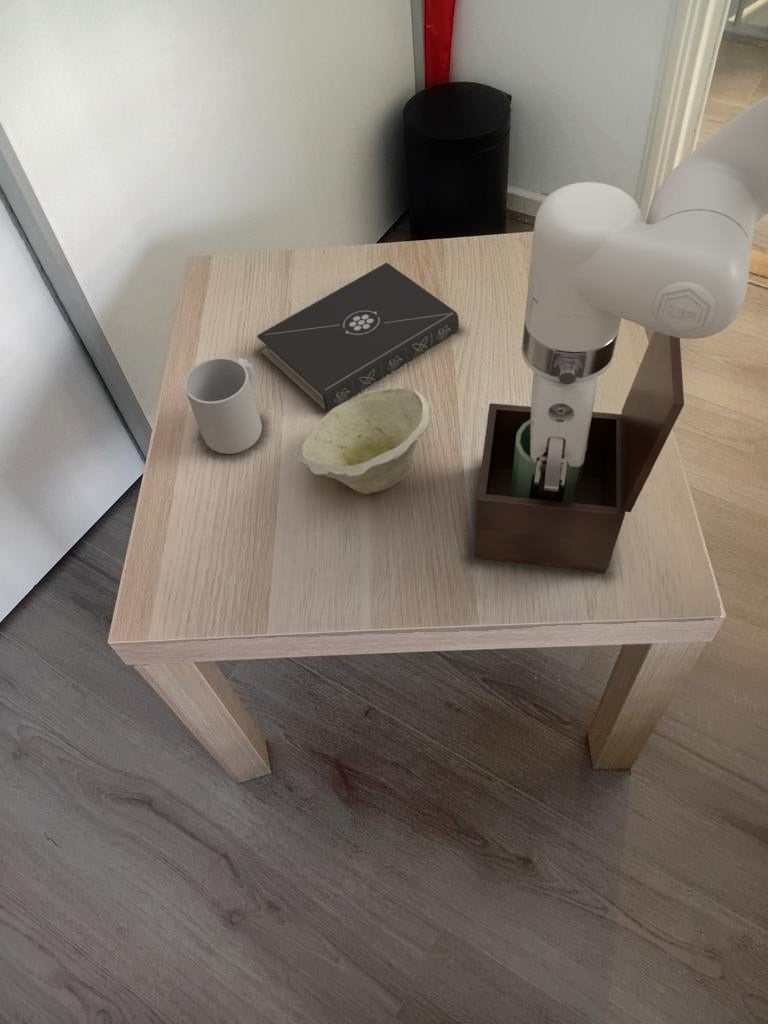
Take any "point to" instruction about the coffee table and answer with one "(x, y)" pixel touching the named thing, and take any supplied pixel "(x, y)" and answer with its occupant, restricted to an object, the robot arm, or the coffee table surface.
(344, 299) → the book
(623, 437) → the lid
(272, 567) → the coffee table surface
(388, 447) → the bowl
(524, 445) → the green cup
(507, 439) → the chest
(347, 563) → the coffee table surface
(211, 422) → the cup
